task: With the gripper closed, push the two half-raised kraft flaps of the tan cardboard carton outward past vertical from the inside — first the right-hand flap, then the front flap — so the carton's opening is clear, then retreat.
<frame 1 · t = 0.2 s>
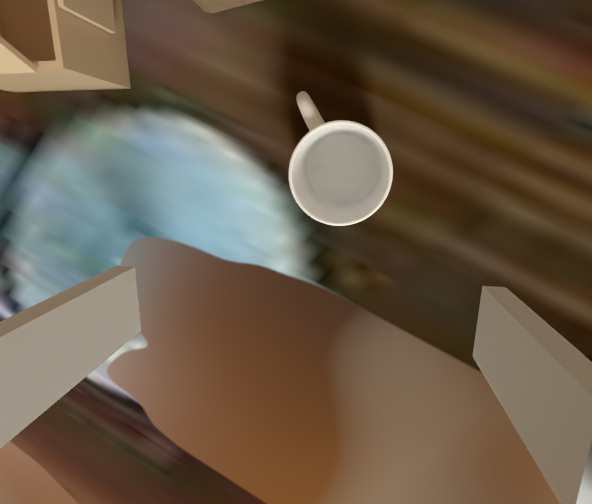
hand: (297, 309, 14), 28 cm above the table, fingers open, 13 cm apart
cup: (334, 154, 40), on the table
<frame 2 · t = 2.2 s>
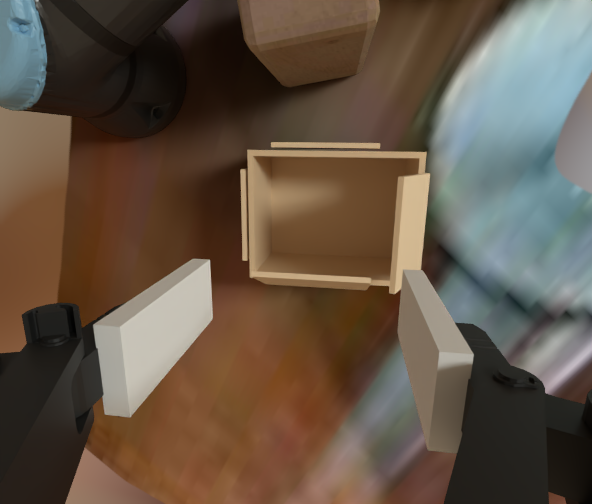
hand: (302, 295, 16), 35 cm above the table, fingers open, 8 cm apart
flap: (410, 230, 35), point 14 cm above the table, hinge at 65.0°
carton: (335, 206, 50), on the table
wooden block: (316, 37, 45), on the table, touching arm
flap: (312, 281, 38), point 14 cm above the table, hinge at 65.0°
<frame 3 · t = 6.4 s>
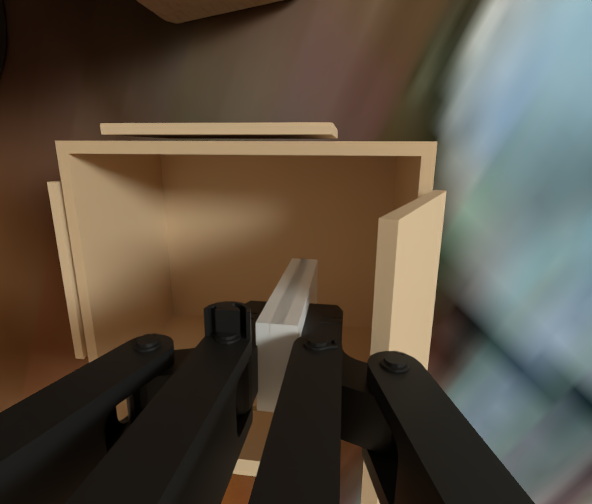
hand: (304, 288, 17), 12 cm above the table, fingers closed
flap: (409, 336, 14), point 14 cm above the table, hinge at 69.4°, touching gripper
carton: (275, 240, 29), on the table
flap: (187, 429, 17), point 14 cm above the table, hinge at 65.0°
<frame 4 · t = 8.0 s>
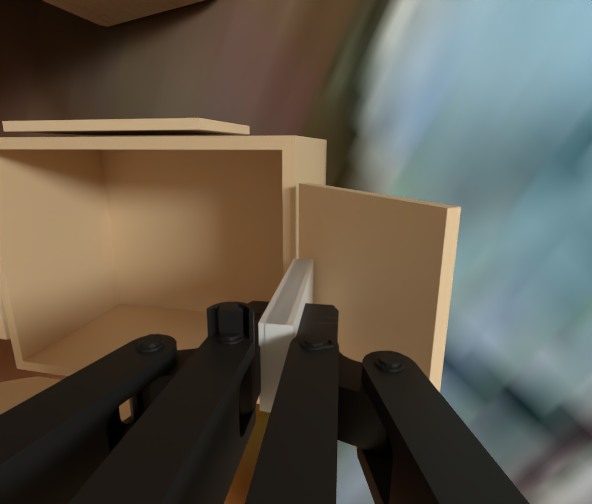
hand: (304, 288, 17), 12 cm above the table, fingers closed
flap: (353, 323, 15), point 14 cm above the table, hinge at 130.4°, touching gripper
carton: (210, 233, 30), on the table
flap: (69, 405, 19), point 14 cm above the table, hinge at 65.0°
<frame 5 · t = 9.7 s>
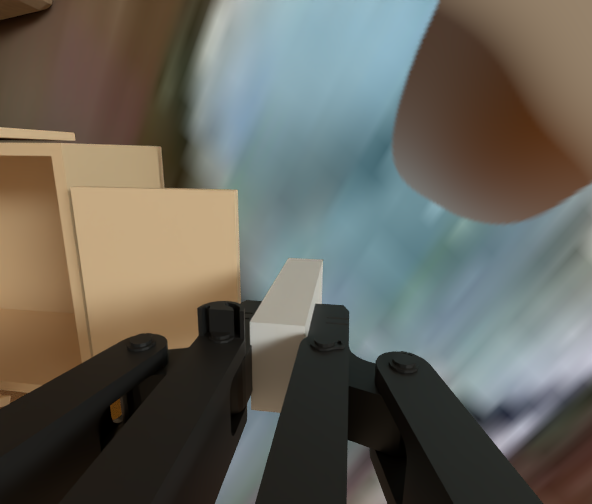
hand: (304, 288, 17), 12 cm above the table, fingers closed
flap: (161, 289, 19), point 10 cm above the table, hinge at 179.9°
carton: (62, 236, 31), on the table
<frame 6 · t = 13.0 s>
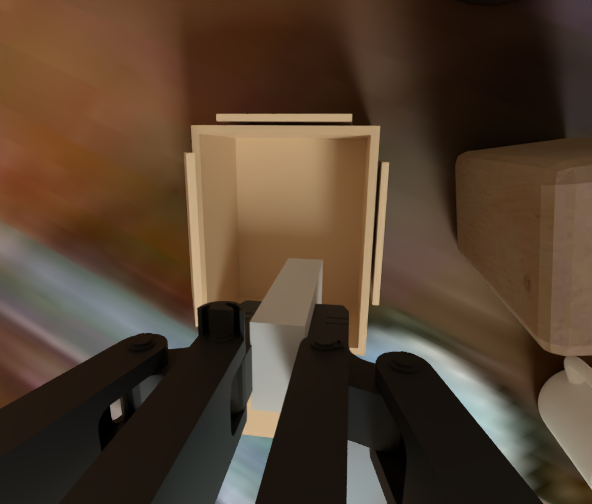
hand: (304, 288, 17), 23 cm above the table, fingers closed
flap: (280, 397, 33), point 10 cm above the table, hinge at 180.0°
carton: (299, 223, 40), on the table
wooden block: (509, 199, 36), on the table, touching arm
cup: (570, 383, 40), on the table
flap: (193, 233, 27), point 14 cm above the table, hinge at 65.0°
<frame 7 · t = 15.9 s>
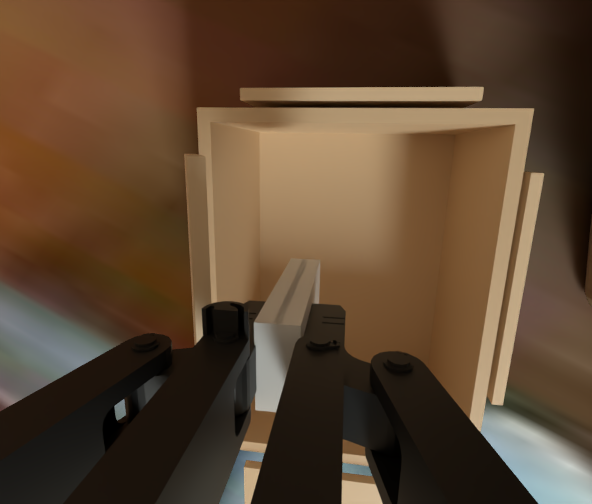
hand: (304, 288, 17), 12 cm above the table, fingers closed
carton: (347, 254, 28), on the table
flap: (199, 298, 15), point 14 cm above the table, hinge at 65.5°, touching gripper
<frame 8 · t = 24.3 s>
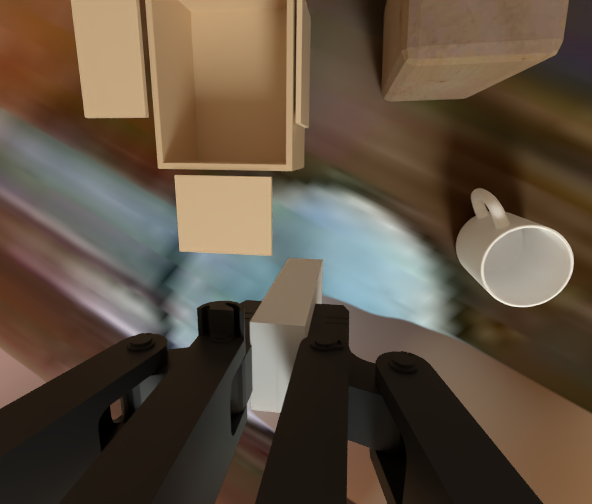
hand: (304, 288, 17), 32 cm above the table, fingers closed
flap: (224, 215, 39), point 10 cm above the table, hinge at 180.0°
carton: (247, 89, 46), on the table
wooden block: (427, 53, 42), on the table
cup: (483, 229, 46), on the table
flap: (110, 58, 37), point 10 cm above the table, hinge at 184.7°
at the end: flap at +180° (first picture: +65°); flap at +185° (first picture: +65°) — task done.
